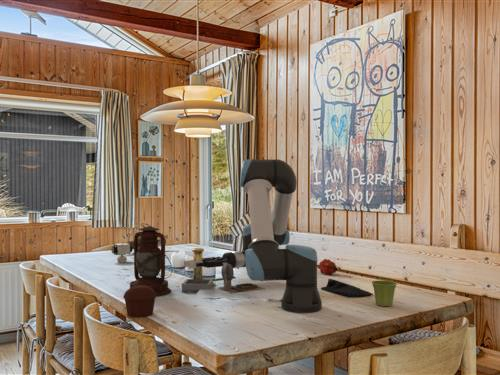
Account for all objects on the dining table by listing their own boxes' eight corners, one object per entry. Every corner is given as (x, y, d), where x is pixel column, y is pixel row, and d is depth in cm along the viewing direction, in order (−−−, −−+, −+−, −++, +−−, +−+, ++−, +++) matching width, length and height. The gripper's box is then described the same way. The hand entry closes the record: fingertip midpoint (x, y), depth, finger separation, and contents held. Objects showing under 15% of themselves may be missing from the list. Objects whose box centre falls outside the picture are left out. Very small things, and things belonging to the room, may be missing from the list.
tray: (209, 292, 210) (209, 284, 210) (181, 292, 211) (181, 284, 211) (212, 286, 222) (212, 279, 222) (186, 286, 223) (186, 278, 223)
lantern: (180, 290, 214) (180, 222, 214) (150, 299, 198) (150, 225, 198) (147, 286, 223) (147, 220, 223) (116, 294, 207) (116, 223, 207)
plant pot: (377, 301, 195) (377, 279, 195) (400, 304, 189) (400, 282, 189) (367, 305, 187) (367, 282, 187) (390, 309, 181) (390, 285, 181)
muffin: (159, 310, 180) (159, 283, 180) (154, 318, 169) (154, 289, 169) (126, 310, 180) (126, 283, 180) (119, 318, 169) (119, 289, 168)
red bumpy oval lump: (320, 275, 261) (335, 282, 251) (311, 267, 256) (326, 273, 246) (328, 261, 263) (344, 268, 252) (320, 253, 258) (335, 259, 248)
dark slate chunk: (345, 300, 198) (345, 288, 198) (318, 289, 219) (318, 278, 219) (376, 297, 204) (376, 285, 204) (347, 287, 224) (347, 276, 224)
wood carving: (171, 250, 349) (171, 235, 349) (126, 255, 326) (126, 238, 326) (164, 249, 356) (164, 234, 356) (120, 253, 333) (120, 237, 333)
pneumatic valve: (111, 262, 295) (111, 242, 295) (129, 260, 302) (129, 241, 302) (114, 263, 291) (114, 243, 291) (133, 261, 297) (133, 242, 297)
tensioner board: (265, 292, 211) (265, 263, 211) (231, 296, 202) (231, 266, 202) (249, 286, 222) (249, 259, 222) (216, 291, 213) (216, 262, 213)
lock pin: (202, 281, 214) (202, 249, 214) (191, 281, 214) (191, 249, 214) (204, 279, 219) (204, 248, 219) (193, 279, 220) (193, 248, 219)
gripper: (242, 271, 219) (195, 276, 207) (223, 265, 234) (178, 270, 221) (242, 254, 219) (195, 258, 207) (223, 250, 234) (178, 253, 221)
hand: (186, 264), depth 214 cm, fingers closed on lock pin, 4 cm apart
